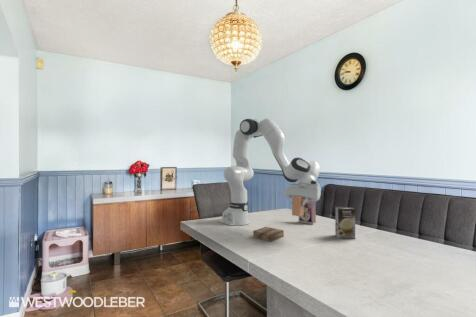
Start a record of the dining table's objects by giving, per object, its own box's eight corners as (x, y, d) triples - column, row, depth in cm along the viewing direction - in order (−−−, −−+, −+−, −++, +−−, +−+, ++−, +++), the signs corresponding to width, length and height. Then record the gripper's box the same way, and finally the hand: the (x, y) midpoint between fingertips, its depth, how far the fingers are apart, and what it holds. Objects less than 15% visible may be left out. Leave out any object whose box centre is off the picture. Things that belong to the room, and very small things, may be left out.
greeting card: (297, 222, 181) (297, 200, 181) (303, 220, 186) (303, 199, 186) (312, 225, 173) (312, 202, 173) (318, 223, 178) (318, 200, 178)
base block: (253, 238, 146) (253, 230, 146) (266, 233, 155) (266, 226, 155) (271, 242, 138) (271, 234, 138) (283, 237, 147) (283, 230, 147)
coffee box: (338, 238, 144) (338, 208, 144) (335, 235, 150) (334, 206, 150) (355, 238, 143) (355, 209, 143) (351, 235, 149) (351, 206, 149)
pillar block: (292, 215, 143) (292, 196, 143) (296, 213, 147) (296, 195, 147) (299, 216, 140) (299, 197, 140) (303, 215, 144) (303, 196, 144)
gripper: (287, 180, 156) (278, 198, 148) (320, 182, 142) (312, 202, 135) (291, 187, 159) (283, 205, 152) (324, 189, 145) (316, 210, 138)
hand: (297, 204), depth 143 cm, fingers closed on pillar block, 4 cm apart
